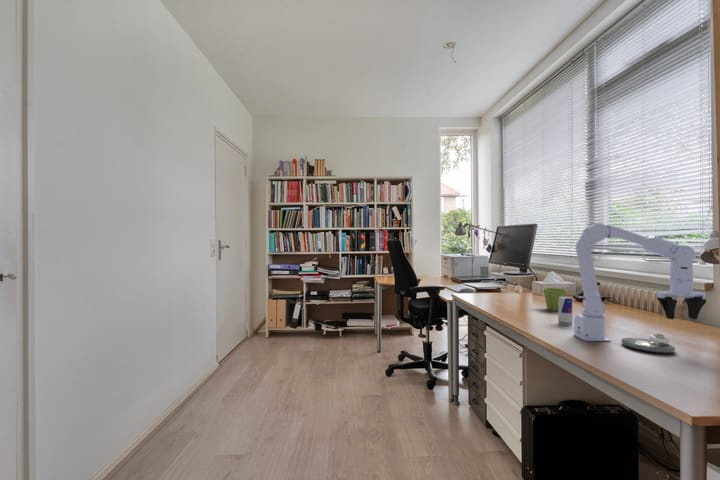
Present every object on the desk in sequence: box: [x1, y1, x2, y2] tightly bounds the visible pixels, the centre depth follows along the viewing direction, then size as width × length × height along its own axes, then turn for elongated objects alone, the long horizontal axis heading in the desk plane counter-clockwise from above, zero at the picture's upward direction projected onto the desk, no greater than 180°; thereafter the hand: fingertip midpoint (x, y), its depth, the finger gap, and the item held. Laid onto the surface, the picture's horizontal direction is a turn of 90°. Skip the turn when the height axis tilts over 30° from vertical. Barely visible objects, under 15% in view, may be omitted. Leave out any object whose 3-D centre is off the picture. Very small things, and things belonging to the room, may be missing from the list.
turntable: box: [620, 337, 676, 354], centre depth 113 cm, size 14×14×2 cm
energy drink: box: [557, 296, 573, 326], centre depth 147 cm, size 5×5×12 cm
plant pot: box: [542, 287, 568, 312], centre depth 177 cm, size 12×12×11 cm
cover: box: [648, 333, 670, 346], centre depth 113 cm, size 5×5×3 cm
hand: (681, 318), depth 113 cm, fingers open, 7 cm apart
